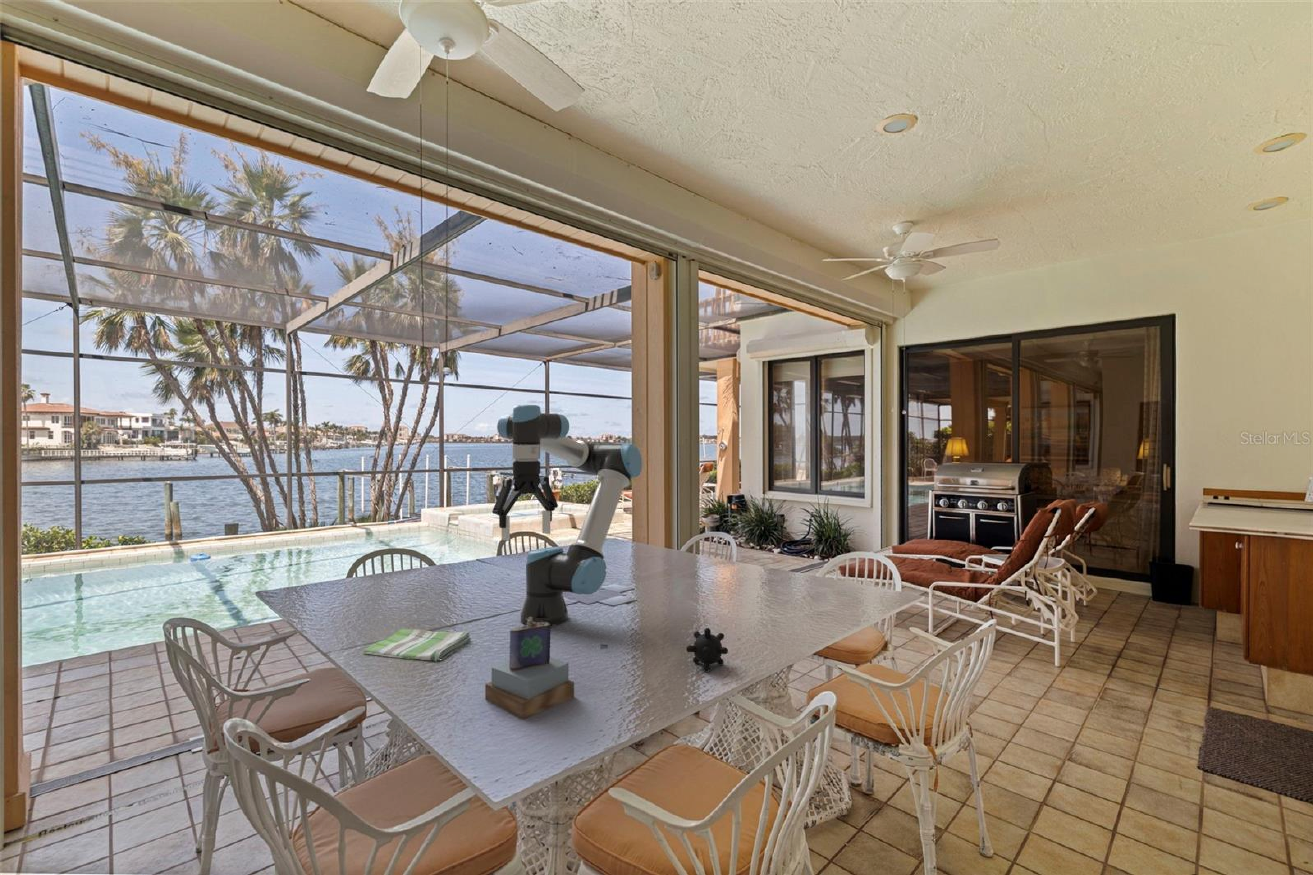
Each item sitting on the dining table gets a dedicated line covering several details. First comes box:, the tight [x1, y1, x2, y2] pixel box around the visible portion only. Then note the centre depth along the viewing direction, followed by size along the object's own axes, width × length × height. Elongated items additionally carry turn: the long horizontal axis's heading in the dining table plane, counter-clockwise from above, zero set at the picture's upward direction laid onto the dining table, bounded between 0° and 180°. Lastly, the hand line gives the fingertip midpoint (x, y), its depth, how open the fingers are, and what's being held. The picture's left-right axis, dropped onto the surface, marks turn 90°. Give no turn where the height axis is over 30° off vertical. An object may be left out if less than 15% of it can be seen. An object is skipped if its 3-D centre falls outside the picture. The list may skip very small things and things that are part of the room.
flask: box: [509, 617, 551, 670], centre depth 127 cm, size 9×3×11 cm, turn 119°
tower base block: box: [484, 679, 575, 720], centre depth 127 cm, size 14×14×4 cm
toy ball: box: [686, 627, 729, 672], centre depth 146 cm, size 11×11×12 cm
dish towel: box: [363, 628, 472, 662], centre depth 159 cm, size 17×23×4 cm
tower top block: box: [491, 656, 569, 700], centre depth 127 cm, size 12×12×4 cm
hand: (526, 536), depth 157 cm, fingers open, 13 cm apart
